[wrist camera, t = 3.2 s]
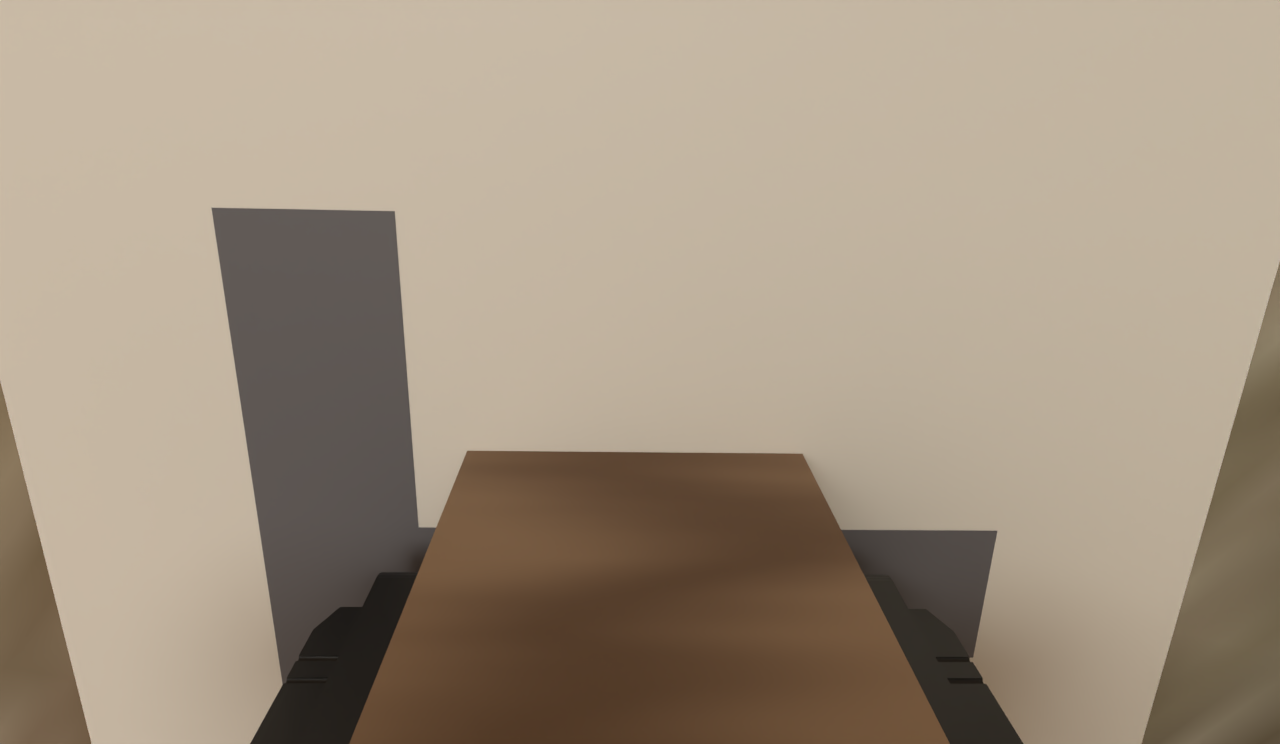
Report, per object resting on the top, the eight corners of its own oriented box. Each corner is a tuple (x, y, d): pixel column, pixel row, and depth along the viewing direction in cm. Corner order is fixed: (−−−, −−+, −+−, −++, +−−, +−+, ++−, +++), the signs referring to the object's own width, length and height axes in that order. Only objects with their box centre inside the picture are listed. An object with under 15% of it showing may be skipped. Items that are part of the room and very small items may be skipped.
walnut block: (802, 453, 12) (962, 770, 7) (776, 720, 14) (887, 1155, 8) (467, 450, 12) (336, 772, 6) (480, 721, 14) (387, 1167, 8)
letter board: (1331, -7, 11) (1356, -9, 10) (1063, 959, 17) (1074, 980, 16) (-82, -48, 10) (-110, -54, 10) (165, 972, 16) (154, 993, 16)
